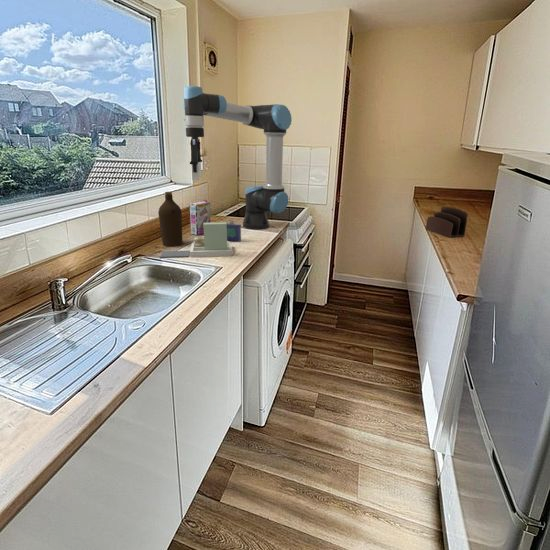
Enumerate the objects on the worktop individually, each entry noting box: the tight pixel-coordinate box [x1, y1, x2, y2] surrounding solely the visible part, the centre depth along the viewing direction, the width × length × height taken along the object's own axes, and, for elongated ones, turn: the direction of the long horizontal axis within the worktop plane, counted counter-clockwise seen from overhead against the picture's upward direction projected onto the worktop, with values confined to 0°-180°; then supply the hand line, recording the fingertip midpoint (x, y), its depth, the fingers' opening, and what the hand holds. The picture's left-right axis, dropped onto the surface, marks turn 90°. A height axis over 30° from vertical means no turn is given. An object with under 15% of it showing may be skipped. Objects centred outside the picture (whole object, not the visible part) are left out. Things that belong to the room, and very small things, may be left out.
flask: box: [226, 219, 242, 243], centre depth 187 cm, size 9×3×11 cm, turn 75°
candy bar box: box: [189, 201, 211, 236], centre depth 199 cm, size 11×5×16 cm, turn 149°
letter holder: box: [425, 206, 469, 239], centre depth 210 cm, size 10×20×14 cm, turn 19°
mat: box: [159, 250, 190, 259], centre depth 166 cm, size 12×8×1 cm, turn 98°
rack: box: [189, 241, 233, 258], centre depth 171 cm, size 18×14×2 cm
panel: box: [203, 221, 228, 251], centre depth 166 cm, size 10×3×14 cm, turn 98°
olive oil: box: [158, 191, 184, 247], centre depth 177 cm, size 11×11×25 cm
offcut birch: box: [193, 236, 204, 246], centre depth 172 cm, size 6×4×3 cm
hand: (197, 178), depth 165 cm, fingers open, 13 cm apart
